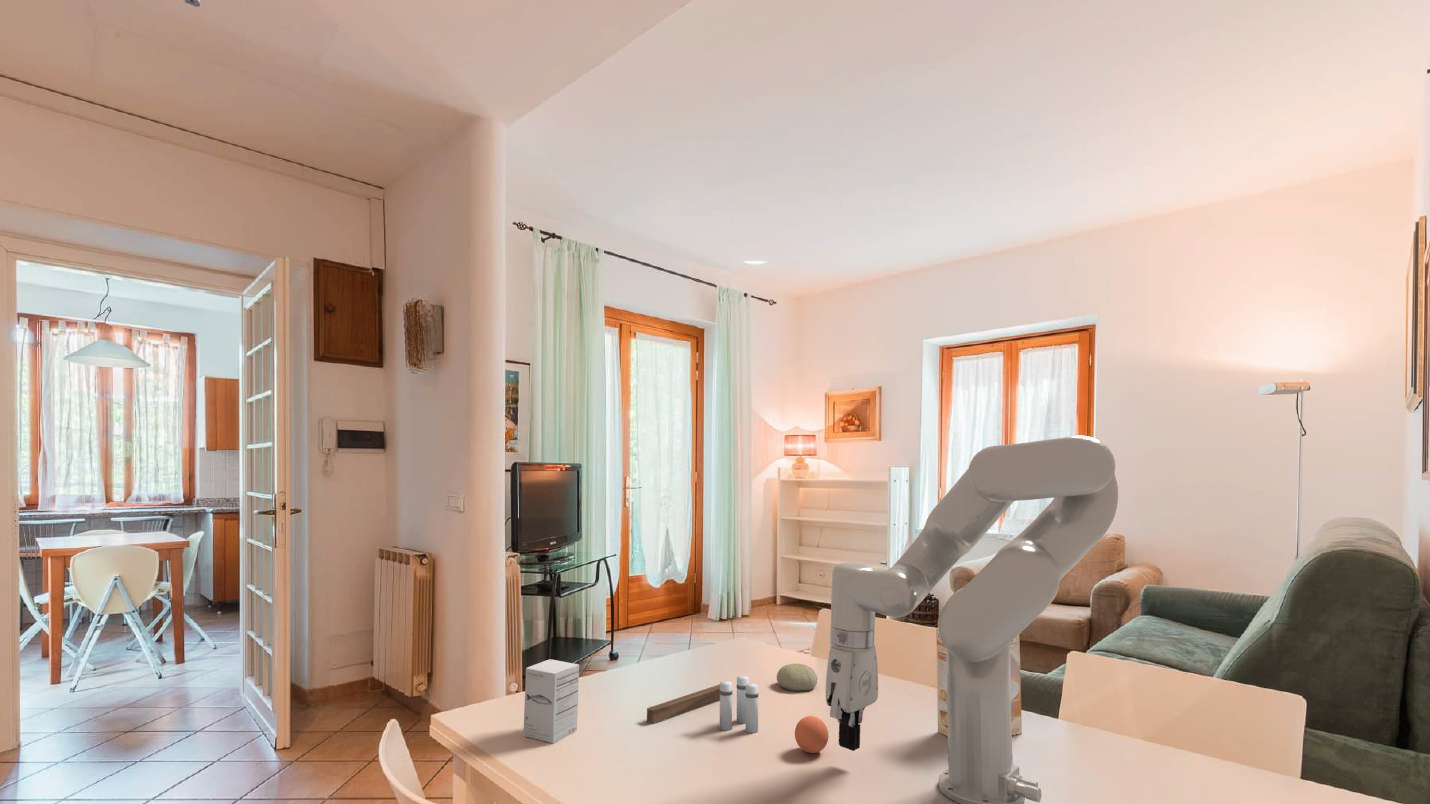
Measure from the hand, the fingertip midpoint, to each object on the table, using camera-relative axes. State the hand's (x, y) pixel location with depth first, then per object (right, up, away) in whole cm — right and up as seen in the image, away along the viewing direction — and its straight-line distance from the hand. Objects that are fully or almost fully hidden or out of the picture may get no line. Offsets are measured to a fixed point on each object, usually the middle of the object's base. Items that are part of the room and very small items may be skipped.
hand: (849, 746), depth 117 cm
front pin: (-16, -4, +15) cm, 22 cm away
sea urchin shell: (-4, -7, +42) cm, 43 cm away
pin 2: (-17, -5, +20) cm, 27 cm away
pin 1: (-21, -5, +16) cm, 27 cm away
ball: (-6, -1, +6) cm, 8 cm away
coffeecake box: (+28, -5, +15) cm, 32 cm away
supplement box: (-54, -4, +13) cm, 55 cm away
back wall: (-28, -5, +27) cm, 39 cm away
